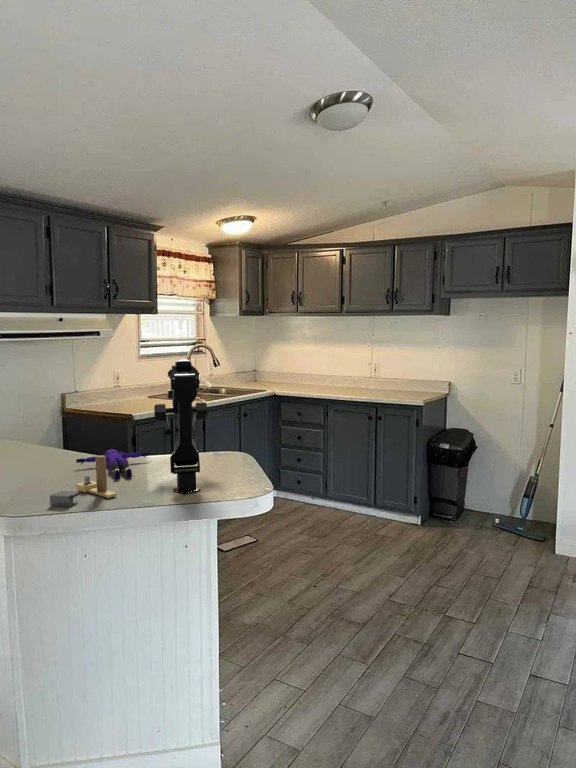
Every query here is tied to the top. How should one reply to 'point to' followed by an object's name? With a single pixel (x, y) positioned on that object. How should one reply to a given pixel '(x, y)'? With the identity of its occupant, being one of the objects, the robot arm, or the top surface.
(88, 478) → the peg
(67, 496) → the keeper
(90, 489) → the link
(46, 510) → the top surface
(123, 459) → the toy
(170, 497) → the top surface
